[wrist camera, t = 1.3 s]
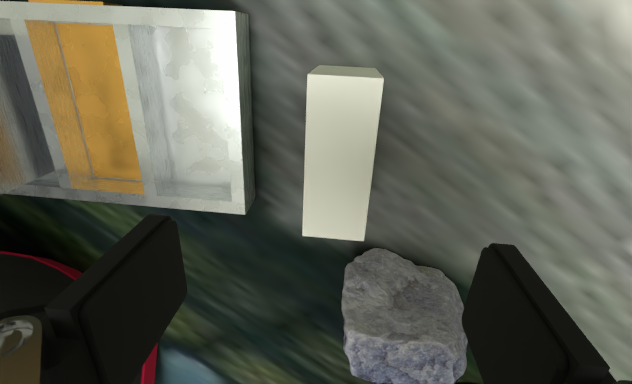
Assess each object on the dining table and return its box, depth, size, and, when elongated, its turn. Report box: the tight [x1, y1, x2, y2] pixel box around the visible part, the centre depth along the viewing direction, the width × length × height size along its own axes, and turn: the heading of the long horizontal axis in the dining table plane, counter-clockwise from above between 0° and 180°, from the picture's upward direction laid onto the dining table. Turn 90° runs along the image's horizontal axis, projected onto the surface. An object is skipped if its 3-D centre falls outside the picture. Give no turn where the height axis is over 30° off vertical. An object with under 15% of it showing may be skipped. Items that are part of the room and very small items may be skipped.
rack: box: [0, 0, 255, 215], centre depth 23 cm, size 22×14×8 cm, turn 87°
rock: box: [341, 248, 468, 384], centre depth 26 cm, size 10×6×10 cm, turn 88°
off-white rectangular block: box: [302, 65, 384, 241], centre depth 23 cm, size 4×10×7 cm, turn 178°
